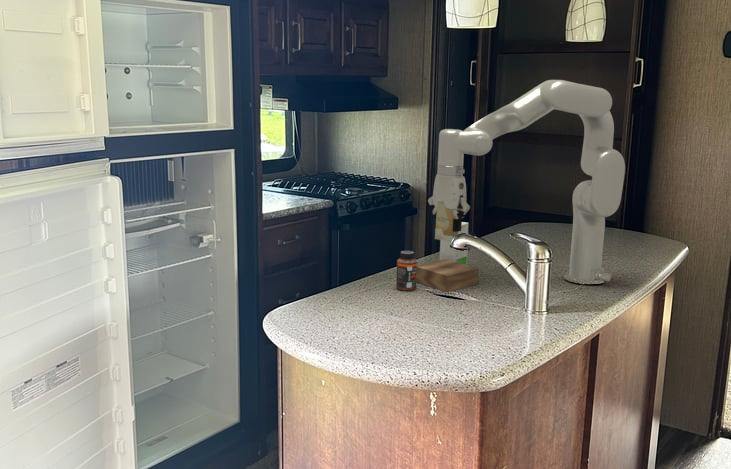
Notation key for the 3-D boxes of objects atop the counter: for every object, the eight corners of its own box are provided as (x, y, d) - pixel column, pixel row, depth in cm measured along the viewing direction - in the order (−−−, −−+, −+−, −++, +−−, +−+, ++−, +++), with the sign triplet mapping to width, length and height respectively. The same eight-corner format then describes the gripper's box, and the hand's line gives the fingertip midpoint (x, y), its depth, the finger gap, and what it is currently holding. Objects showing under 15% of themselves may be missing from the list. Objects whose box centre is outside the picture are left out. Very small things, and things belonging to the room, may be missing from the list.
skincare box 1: (434, 239, 218) (436, 199, 216) (439, 236, 222) (441, 197, 220) (454, 242, 216) (456, 201, 213) (459, 239, 219) (461, 199, 217)
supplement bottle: (414, 292, 212) (415, 255, 209) (394, 290, 213) (395, 253, 211) (417, 286, 218) (418, 250, 215) (397, 285, 219) (398, 249, 216)
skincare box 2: (454, 273, 233) (456, 226, 230) (437, 269, 237) (439, 223, 234) (467, 268, 240) (469, 222, 236) (450, 264, 244) (452, 219, 240)
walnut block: (477, 283, 221) (478, 268, 220) (446, 292, 212) (447, 275, 211) (444, 274, 232) (445, 259, 231) (413, 281, 223) (414, 266, 222)
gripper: (480, 173, 210) (477, 232, 214) (437, 167, 223) (435, 223, 227) (463, 175, 206) (460, 235, 209) (420, 168, 218) (418, 225, 222)
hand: (447, 228), depth 218 cm, fingers closed on skincare box 1, 7 cm apart
